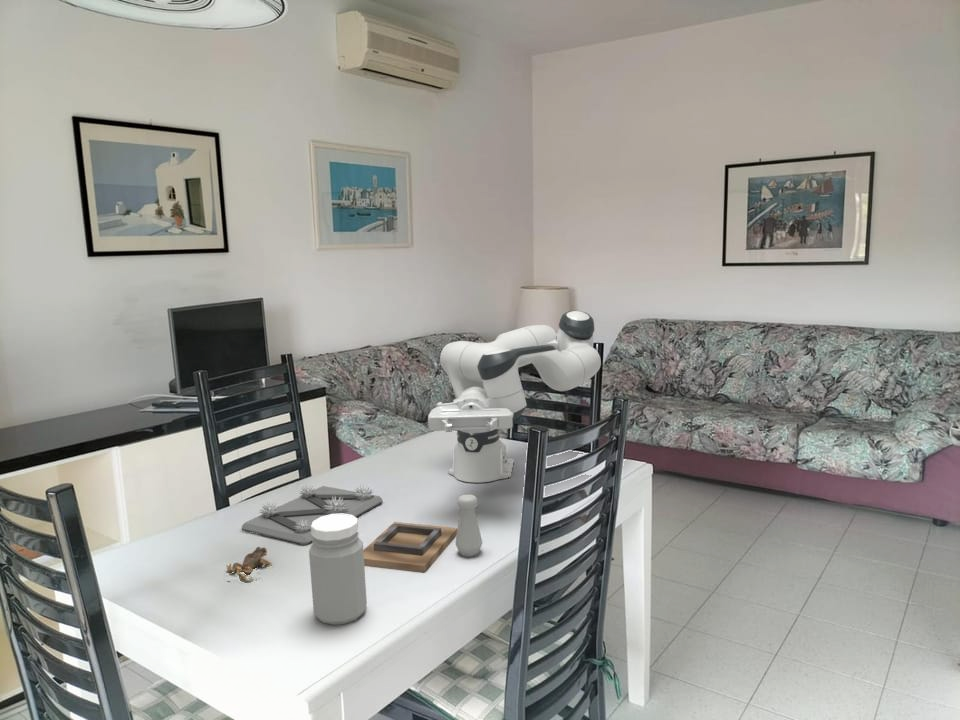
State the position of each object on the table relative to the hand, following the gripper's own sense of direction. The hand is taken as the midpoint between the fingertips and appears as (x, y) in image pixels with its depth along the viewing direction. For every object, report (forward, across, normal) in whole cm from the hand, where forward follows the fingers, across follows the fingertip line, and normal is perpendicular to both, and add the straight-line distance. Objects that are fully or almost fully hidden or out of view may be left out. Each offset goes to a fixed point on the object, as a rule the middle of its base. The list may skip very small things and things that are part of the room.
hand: (468, 428), depth 162 cm
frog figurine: (+18, +47, -26) cm, 56 cm away
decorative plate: (-11, +41, -26) cm, 49 cm away
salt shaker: (+12, 0, -25) cm, 28 cm away
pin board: (+9, +14, -25) cm, 30 cm away
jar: (+37, +23, -25) cm, 50 cm away
